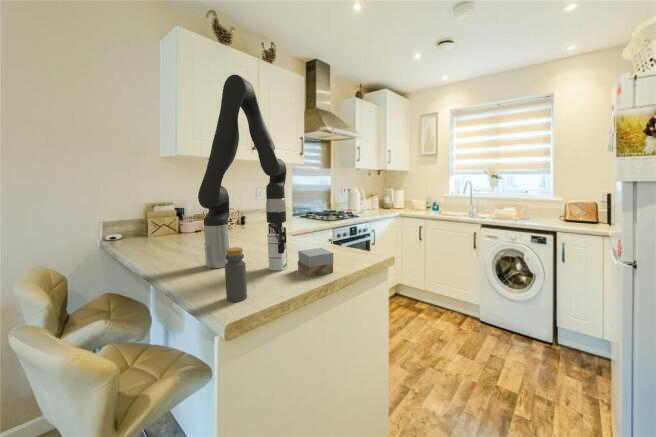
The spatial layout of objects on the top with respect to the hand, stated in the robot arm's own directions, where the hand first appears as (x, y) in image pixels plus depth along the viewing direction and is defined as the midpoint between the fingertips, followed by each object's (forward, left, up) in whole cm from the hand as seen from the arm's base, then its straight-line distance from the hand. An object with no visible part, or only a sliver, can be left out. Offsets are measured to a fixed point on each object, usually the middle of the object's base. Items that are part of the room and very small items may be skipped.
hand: (277, 251), depth 118 cm
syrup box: (0, 0, -7) cm, 7 cm away
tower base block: (+11, -11, -8) cm, 17 cm away
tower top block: (+11, -11, -4) cm, 16 cm away
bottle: (-21, -23, -7) cm, 32 cm away
